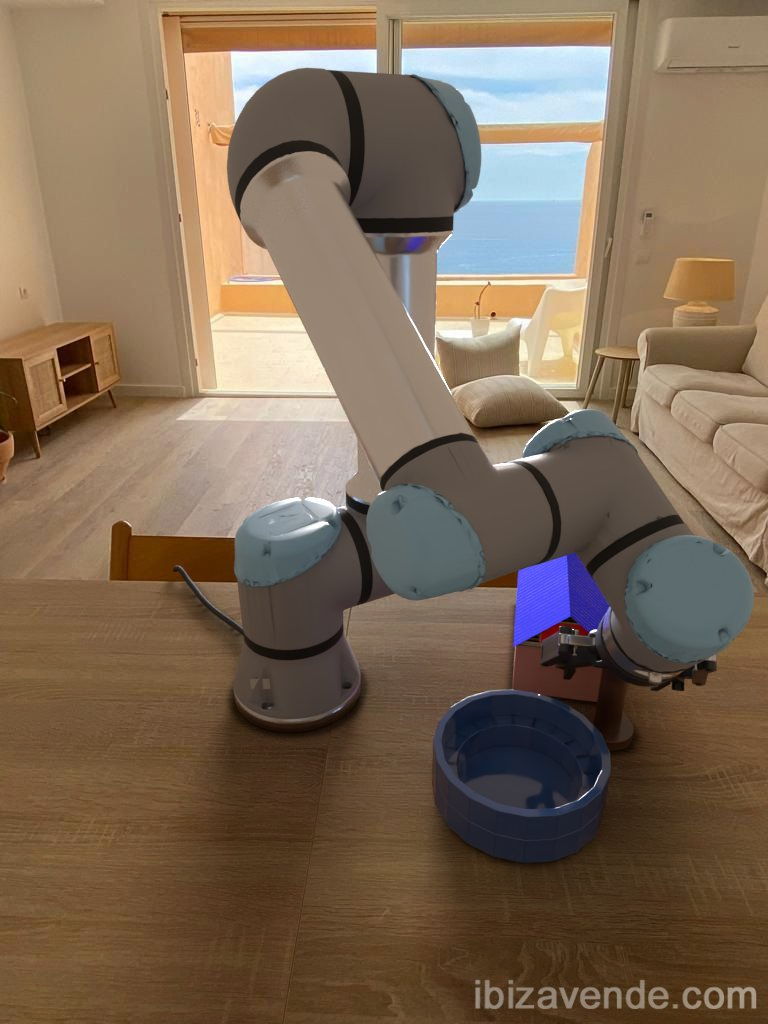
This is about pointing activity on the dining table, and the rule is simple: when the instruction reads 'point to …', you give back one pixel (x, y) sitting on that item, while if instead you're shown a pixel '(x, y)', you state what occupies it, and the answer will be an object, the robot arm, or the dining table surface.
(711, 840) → the dining table surface
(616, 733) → the muddler
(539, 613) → the house
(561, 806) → the bowl
